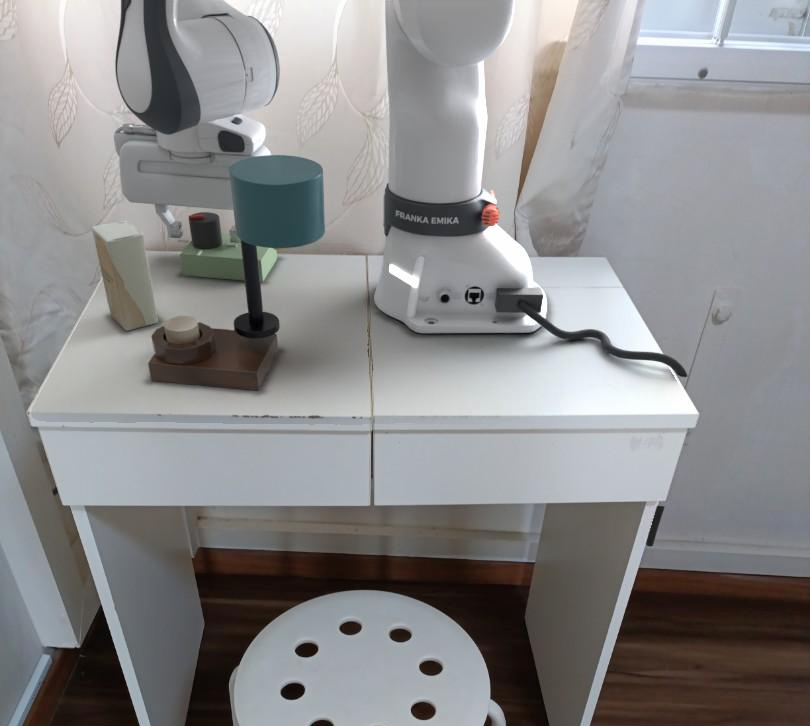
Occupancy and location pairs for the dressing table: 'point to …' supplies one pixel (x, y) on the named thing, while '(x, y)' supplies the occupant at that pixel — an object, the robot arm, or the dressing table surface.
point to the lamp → (273, 221)
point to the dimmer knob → (205, 230)
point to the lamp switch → (181, 330)
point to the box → (125, 274)
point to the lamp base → (213, 359)
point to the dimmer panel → (223, 260)
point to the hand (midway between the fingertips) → (206, 239)
